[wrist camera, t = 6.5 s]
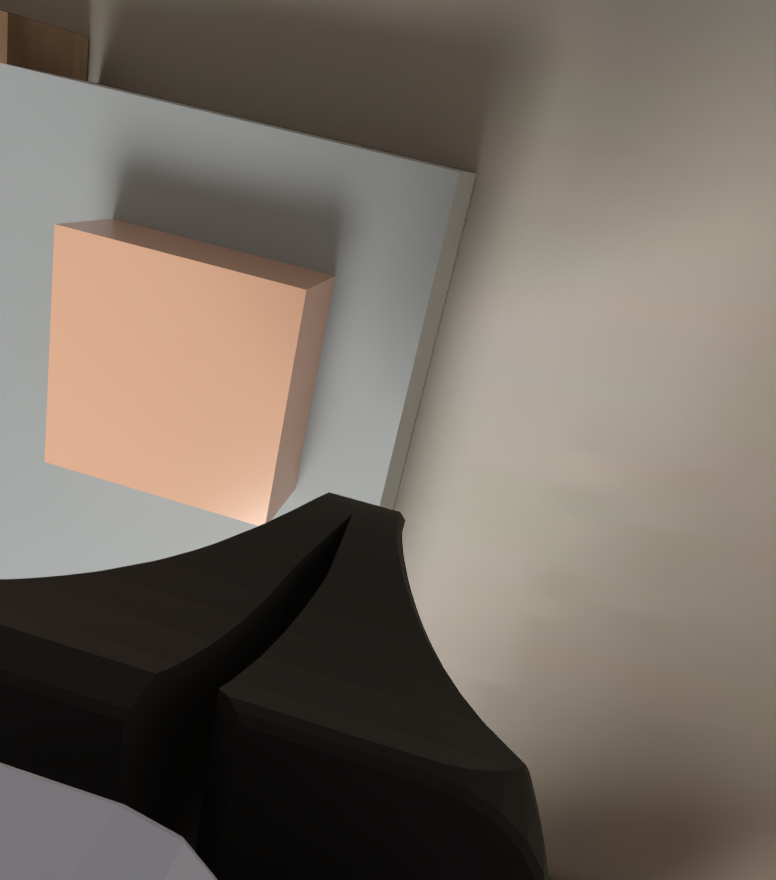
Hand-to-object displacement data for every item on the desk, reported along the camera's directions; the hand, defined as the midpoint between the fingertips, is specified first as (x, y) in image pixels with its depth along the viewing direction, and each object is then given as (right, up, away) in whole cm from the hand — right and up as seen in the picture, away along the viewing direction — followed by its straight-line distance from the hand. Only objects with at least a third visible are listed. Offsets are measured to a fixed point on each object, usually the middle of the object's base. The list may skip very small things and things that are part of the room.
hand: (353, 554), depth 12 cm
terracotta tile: (-3, +4, +4) cm, 7 cm away
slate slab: (-4, +2, +9) cm, 10 cm away
